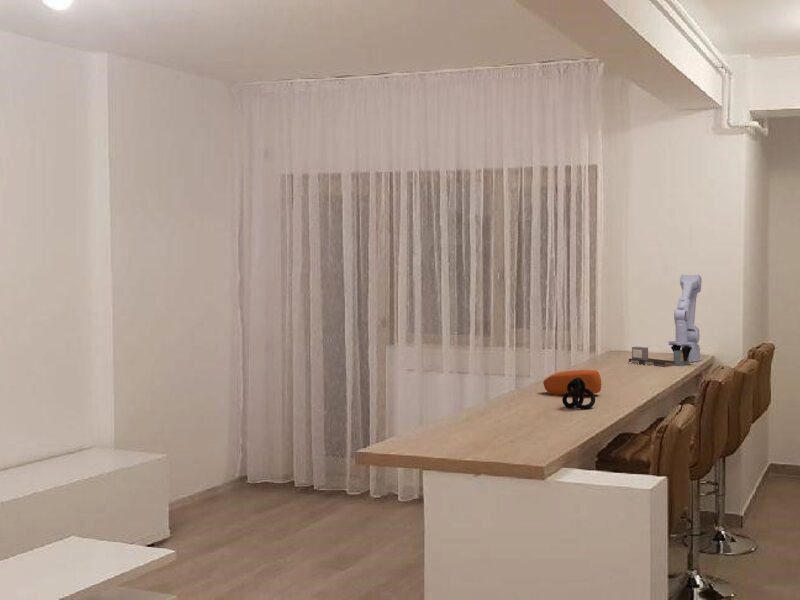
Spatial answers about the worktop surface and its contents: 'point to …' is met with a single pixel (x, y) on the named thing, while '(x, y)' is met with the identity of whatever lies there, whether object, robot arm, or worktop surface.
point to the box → (640, 353)
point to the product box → (679, 358)
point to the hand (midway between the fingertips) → (681, 360)
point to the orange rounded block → (560, 380)
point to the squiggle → (578, 394)
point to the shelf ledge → (654, 362)
